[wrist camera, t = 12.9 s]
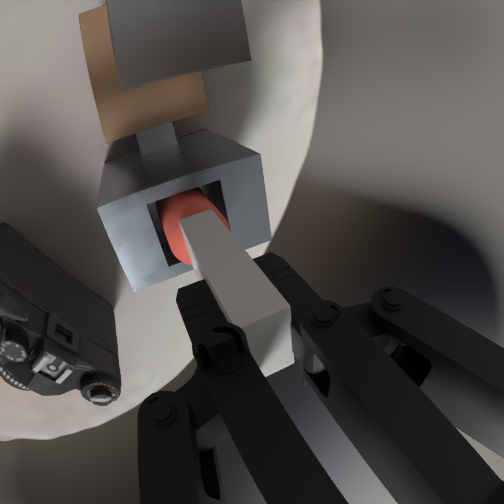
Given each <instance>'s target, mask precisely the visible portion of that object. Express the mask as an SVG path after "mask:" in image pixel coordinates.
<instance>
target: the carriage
mask: <svg viewBox="0 0 504 504" xmlns="http://www.w3.org/2000/svg"><path fill="white" fill-rule="evenodd" d="M78 15H79V22H80V29H81V35H82V41H83V47H84V52H85V57H86V62H87V67H88V72H89V77H90V81H91V86H92V90H93V94H94V98H95V102H96V106H97V110H98V114H99V118H100V122H101V125H102V129H103V133H104V136H105V140H106V143H107V144H108V143H110V142H113V141H116V140H119V139H121V138H124V137H127V136H130V135H133V134H136V133H139V132H142V131H145V130H148V129H151V128H154V127H157V126H161V125H164V124H167V123H171V122H174V121H178V120H182V119H185V118H189V117H193V116H197V115H201V114H205V113H209V108H208V103H207V97H206V92H205V87H204V81H203V76H202V70H206V69H210V68H215V67H219V66H224V65H229V64H234V63H240V62H245V61H251V57H250V51H249V44H248V38H247V32H246V26H245V20H244V14H243V9H242V3H241V0H106V5H105V6H101V7H98V8H95V9H92V10H89V11H86V12H83V13H80V14H78Z"/></svg>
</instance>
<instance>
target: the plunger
mask: <svg viewBox="0 0 504 504" xmlns="http://www.w3.org/2000/svg"><path fill="white" fill-rule="evenodd" d="M156 209H157V213H158V215H159V218H160V221H161V224H162V226H163V229H164V232H165V235H166V237H167V240H168V243H169V245H170V248H171V250H172V252H173V254H174V255H175V256H176V258H178V259H179V260H180V261H182V262H184V263H186V264H191V265H192V262H191V259H190V256H189V253H188V250H187V247H186V244H185V240H184V237H183V234H182V231H181V227H180V224H179V221H178V220H181V219H184V218H187V217H189V216H192V215H195V214H198V213H201V212H204V211H207V210H210V209H212V210H213V211H214V212H215V214H216V215H217V216H218V217H219V219H220V220H221V221H222V222H223V223H224V225H225V226H226V227H227V228H228V230H229V231H230V228H229V224H228V222H227V220H226V219H225V217H224V216H223V215H222V214H221V213H220V212H219V210H218V209H217V208H216V207H215V206H214V204H213V203H212V202H211V201H210V200H209V199H208V197H207V196H206V195H205V194H204V193H203V191H202V190H201V189H200V188H199V187H195V188H192V189H189V190H186V191H183V192H180V193H178V194H175V195H172V196H169V197H166V198H163V199H160V200H157V201H156Z"/></svg>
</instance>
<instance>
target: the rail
mask: <svg viewBox="0 0 504 504" xmlns="http://www.w3.org/2000/svg"><path fill="white" fill-rule="evenodd" d="M136 138H137V142H138V146H139V149H140V150H138V151H136V152H133V153H130V154H127V155H124V156H122V157H119V158H116V159H114V160H111V161H108V162H106V163H104V167H103V173H102V178H101V184H100V190H99V197H98V203H97V210H98V212H99V215H100V217H101V220H102V222H103V225H104V227H105V229H106V232H107V234H108V236H109V239H110V241H111V243H112V245H113V248H114V250H115V252H116V254H117V257H118V259H119V261H120V263H121V265H122V267H123V269H124V272H125V274H126V276H127V278H128V280H129V282H130V284H131V286H132V288H133V290H134V292H136V291H138V290H141V289H143V288H146V287H149V286H151V285H154V284H156V283H159V282H162V281H164V280H167V279H170V278H172V277H175V276H177V275H180V274H183V273H185V272H188V271H190V270H193V269H194V268H193V265H191V264H186V263H184V262H182V261H180V260H179V259H178V258H176V256H175V255H174V254H173V252H172V250H171V248H170V245H169V243H168V240H167V237H166V235H165V232H164V229H163V226H162V224H161V221H160V218H159V215H158V213H157V209H156V201H157V200H160V199H163V198H166V197H169V196H172V195H175V194H178V193H180V192H183V191H186V190H189V189H192V188H195V187H199V188H200V189H201V190H202V191H203V193H204V194H205V195H206V196H207V197H208V199H209V200H210V201H211V202H212V203H213V204H214V206H215V207H216V208H217V209H218V210H219V212H220V213H221V214H222V215H223V216H224V217H225V219H226V220H227V222H228V224H229V228H230V232H231V233H232V235H233V236H234V237H235V238H236V240H237V241H238V242H239V243H240V245H241V246H242V247H243V248H244V249H245V250H246V249H248V248H251V247H254V246H256V245H259V244H262V243H264V242H267V241H270V240H272V238H271V230H270V222H269V214H268V206H267V199H266V191H265V184H264V176H263V169H262V162H261V155H260V154H259V153H257V152H255V151H253V150H251V149H249V148H247V147H245V146H243V145H241V144H239V143H236V142H234V141H232V140H230V139H228V138H226V137H223V136H221V135H219V134H217V133H214V132H212V131H210V130H204V131H201V132H197V133H193V134H190V135H186V136H183V137H179V138H176V136H175V131H174V127H173V123H172V122H171V123H167V124H164V125H161V126H157V127H154V128H151V129H148V130H145V131H142V132H139V133H136Z"/></svg>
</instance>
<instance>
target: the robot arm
mask: <svg viewBox="0 0 504 504" xmlns="http://www.w3.org/2000/svg"><path fill="white" fill-rule="evenodd" d="M178 221H179V224H180V227H181V231H182V234H183V237H184V240H185V244H186V247H187V250H188V253H189V256H190V259H191V262H192V265H193V268H194V271H195V273H196V275H197V278H198V280H199V281H198V282H195V283H192V284H190V285H187V286H185V287H182V288H179V289H178V292H177V297H176V302H177V305H178V308H179V311H180V313H181V316H182V319H183V321H184V324H185V327H186V329H187V332H188V335H189V337H190V340H191V342H192V351H193V355H194V357H195V359H196V361H197V368H196V371H195V373H194V375H193V376H192V378H191V379H190V380H189V381H188V382H187V383H186V384H184V385H183V386H182V387H180V388H179V389H178V390H177V391H175V392H172V391H159V392H156V393H152V394H151V395H150V396H148V397H147V398H146V399H145V400H144V401H143V403H142V404H141V406H140V408H139V412H138V470H139V489H140V503H141V504H226V501H225V495H224V490H223V485H222V479H221V473H220V468H219V462H218V455H217V450H216V445H217V444H218V443H219V442H220V441H221V440H223V439H224V438H225V437H226V436H227V435H229V434H230V435H231V437H232V439H233V441H234V443H235V445H236V447H237V449H238V451H239V453H240V455H241V457H242V459H243V461H244V463H245V464H246V466H247V468H248V470H249V472H250V474H251V476H252V478H253V479H254V481H255V483H256V485H257V487H258V489H259V490H260V492H261V494H262V495H263V497H264V499H265V501H266V503H267V504H348V502H347V501H346V499H345V498H344V497H343V495H342V494H341V493H340V491H339V490H338V488H337V487H336V485H335V484H334V483H333V481H332V480H331V478H330V477H329V475H328V474H327V472H326V471H325V469H324V468H323V467H322V465H321V464H320V462H319V461H318V459H317V458H316V456H315V455H314V453H313V452H312V450H311V449H310V447H309V446H308V444H307V443H306V441H305V440H304V438H303V437H302V435H301V434H300V432H299V431H298V429H297V427H296V426H295V424H294V423H293V421H292V420H291V418H290V417H289V415H288V413H287V412H286V410H285V409H284V407H283V405H282V404H281V402H280V401H279V399H278V397H277V396H276V394H275V393H274V391H273V389H272V388H271V386H270V384H269V383H268V381H267V379H266V378H265V377H266V376H268V375H270V374H272V373H274V372H277V371H279V370H281V369H283V368H285V367H287V366H289V365H291V364H293V363H294V355H295V356H296V358H297V359H298V361H299V362H300V363H301V382H302V384H303V387H305V386H306V385H307V382H308V383H309V384H310V386H311V387H312V389H313V390H314V392H315V393H316V394H317V396H318V397H319V398H320V400H321V401H322V403H323V404H324V405H325V407H326V408H327V410H328V411H329V412H330V414H331V415H332V416H333V418H334V419H335V421H336V422H337V423H338V425H339V426H340V427H341V429H342V430H343V432H344V433H345V434H346V436H347V437H348V438H349V440H350V441H351V442H352V444H353V445H354V447H355V448H356V449H357V450H358V452H359V453H360V455H361V456H362V457H363V459H364V460H365V461H366V463H367V464H368V465H369V467H370V468H371V469H372V471H373V472H374V473H375V475H376V476H377V477H378V478H379V480H380V481H381V482H382V484H383V485H384V486H385V488H386V489H387V490H388V491H389V493H390V494H391V495H392V497H393V498H394V499H395V500H396V502H397V503H398V504H504V481H502V480H501V479H500V478H499V477H498V476H497V475H496V474H495V472H494V471H493V470H492V469H491V468H490V467H489V465H487V463H486V462H485V461H484V460H483V458H482V457H481V456H480V455H479V454H478V453H477V452H476V450H475V449H474V448H473V447H472V446H471V445H470V444H469V443H468V441H467V440H466V439H465V438H464V437H463V436H462V434H460V432H459V431H458V430H457V429H456V428H458V429H460V430H461V431H463V432H464V433H466V434H467V435H469V436H470V437H472V438H473V439H475V440H476V441H478V442H479V443H481V444H482V445H484V446H486V447H487V448H489V449H490V450H492V451H494V452H495V453H496V454H498V455H500V456H501V457H503V458H504V348H502V347H500V346H499V345H497V344H496V343H494V342H492V341H491V340H489V339H487V338H486V337H484V336H482V335H481V334H479V333H477V332H476V331H474V330H472V329H471V328H469V327H467V326H465V325H464V324H462V323H461V322H459V321H457V320H455V319H454V318H452V317H450V316H449V315H447V314H445V313H443V312H442V311H440V310H438V309H436V308H435V307H433V306H431V305H429V304H428V303H426V302H424V301H422V300H420V299H419V298H417V297H415V296H413V295H412V294H410V293H408V292H406V291H404V290H402V289H400V288H397V287H390V286H387V287H382V288H379V289H378V290H376V291H375V292H374V293H373V294H372V296H371V299H370V302H368V303H364V304H359V305H355V306H348V307H342V306H340V305H339V304H337V303H336V302H332V301H329V300H323V299H322V298H320V296H319V295H318V294H317V293H316V292H315V291H314V290H313V289H312V288H311V287H310V286H309V285H308V284H307V283H306V282H305V281H304V280H303V279H302V277H301V276H300V275H299V274H297V272H296V271H295V270H294V269H293V268H292V267H290V265H289V264H288V263H287V262H286V261H285V260H284V259H283V258H282V257H280V256H278V255H276V254H273V253H271V252H270V253H267V254H264V255H262V256H259V257H257V258H254V259H252V258H251V257H250V256H249V254H248V253H247V252H246V251H245V249H244V248H243V247H242V246H241V245H240V243H239V242H238V241H237V240H236V238H235V237H234V236H233V235H232V233H231V232H230V231H229V230H228V228H227V227H226V226H225V225H224V223H223V222H222V221H221V220H220V219H219V217H218V216H217V215H216V214H215V212H214V211H213V210H212V209H210V210H207V211H204V212H201V213H198V214H195V215H192V216H189V217H187V218H184V219H181V220H178ZM454 426H455V427H456V428H455V427H454Z"/></svg>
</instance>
